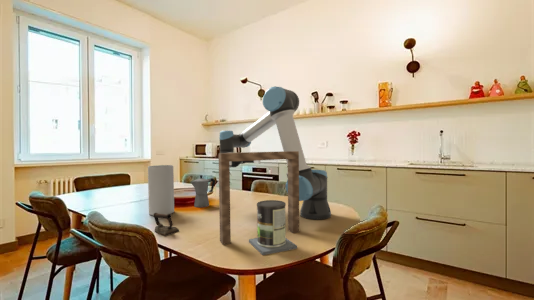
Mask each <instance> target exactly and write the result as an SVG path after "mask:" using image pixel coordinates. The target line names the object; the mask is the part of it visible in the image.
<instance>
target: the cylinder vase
mask: <svg viewBox="0 0 534 300" xmlns="http://www.w3.org/2000/svg"><path fill="white" fill-rule="evenodd" d="M174 180H175V178H174V165H173V164H172V165H171V164H161V165H148V166H147V186H148V187H147V188H148V214H149V215H150V216H153V217H154V213H158V214H171V215H172V214H173V213H174V212H175V186H174V185H175V184H174V182H175V181H174Z"/></svg>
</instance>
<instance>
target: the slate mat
mask: <svg viewBox="0 0 534 300" xmlns="http://www.w3.org/2000/svg"><path fill="white" fill-rule="evenodd" d="M257 241H258V237H255V238H250V239H248V243H249V244H251V246H252V247H253V248H254V249H255V250H257V251H258V252H259V254H260V255H262V256H266V255H270V254H271V255H272V254H275V253H281V252H286V251H292V250H296V249H298V245H297V244H295V243H294V242H293V241H291V240H290V239H288V238H287V237H286V243H285V244H284V245H283V246H280V247H275V248H268V247H263V246H260V245H259V244H258V243H257Z"/></svg>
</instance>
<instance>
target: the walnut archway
mask: <svg viewBox="0 0 534 300" xmlns="http://www.w3.org/2000/svg"><path fill="white" fill-rule="evenodd" d="M218 158H219V159H218V198H219V199H218V200H219V201H218V202H219V203H218V205H219V207H218V208H219V209H218V210H219V213H218V214H219V242H220V243H221V245H223V246H224V245H229V244H232V242H231V235H232V233H231V184H230V183H231V177H230V175H231V173H230V170H231V169H230V164H229V161H255V160H260V161H274V160H275V161H277V160H286V159H288V165H287V172H288V178H287V180H288V193H287V220H288V221H287V226H288V227H287V229H288V231H289V232H290V233H292V234H296V233H300V201H299V151H282V150H281V151H251V152H250V151H249V152H247V151H246V152H245V151H243V152H234V153H220V152H219V153H218Z"/></svg>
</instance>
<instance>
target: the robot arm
mask: <svg viewBox="0 0 534 300" xmlns="http://www.w3.org/2000/svg"><path fill="white" fill-rule="evenodd" d="M262 105H263V107H264V109H265V110H266V111H267V112H266V113H265V114H264V115H262V116H261V117H260V118H259V119H258V120H256V121H255V122H253V123H252V124H251V125H249V127H246V129H245V130H243V131H242V132H240V133H239V134H234V131H233V130H220V132H219V137H218V138H219V153H235V151H234V150H235V149H234V148H249V147H250V145H251V144H252V141H254V140H255V139H257V138H258V137H260V136H261V135H262V134H264V133H265V132H266V131H268V130H269V129H271V128H272V127H273V126H275V125H276V129H277V131H278V136H279V140H280V143H281V146H282V150H283V151H299V202H302V205H301V208H300V209H299V216H301V217H302V218H304V219H309V220H325V219H330V218H331V217H332V210H331V208H330V205H329V202H328V172H327V171H326V170H324V169H323V170H322V169H312V168H311V166H310V165H308V164H307V160H306V158H305V155H304V151H303V147H302V144H301V140H300V137H299V133H298V130H297V126H296V122H295V119H294V114H295V113H296V111H297V110H298V109H299V106H300V98H299V95H298V94H297V93H296V92H295V91H293V90H290V89H286V88H284V87H282V86H271V87H269V88H268V89H267V90H265V92H264V95H263V97H262ZM218 160H219V157H218ZM285 161H286V165H287V166H288V159H285ZM246 163H249V164H250V163H252V164H257V165H258V164H260V165H261V160H255V161H229V164H230V168H231V169H232V168H237V167H238V166H240V165H242V164H243V165H244V164H246ZM286 178H287V180H286V182H285V191H286V193H287V194H288V171H287V172H286Z"/></svg>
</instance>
